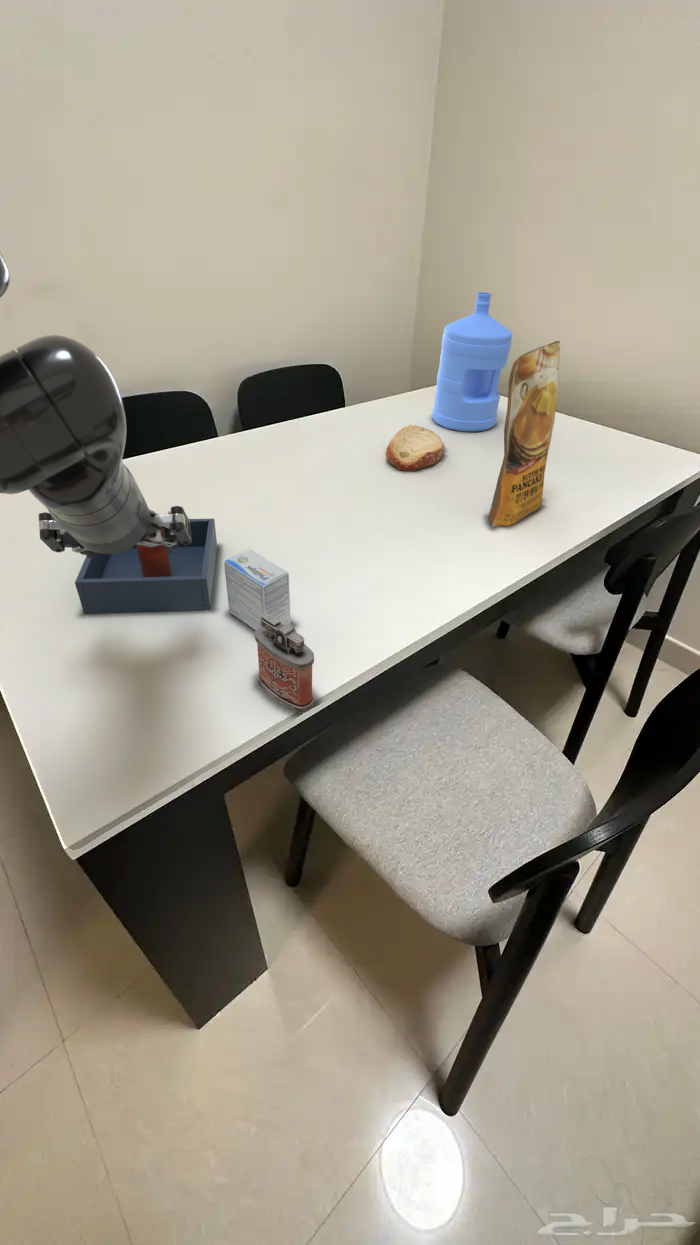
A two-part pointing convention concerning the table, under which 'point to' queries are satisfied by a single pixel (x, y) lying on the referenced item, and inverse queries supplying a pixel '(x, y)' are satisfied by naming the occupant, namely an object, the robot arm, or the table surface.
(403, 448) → the slice of bread
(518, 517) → the pancake mix bag
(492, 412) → the water jug
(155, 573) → the terracotta red cylinder
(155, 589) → the bin
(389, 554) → the table surface
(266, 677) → the lighter
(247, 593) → the medicine box
